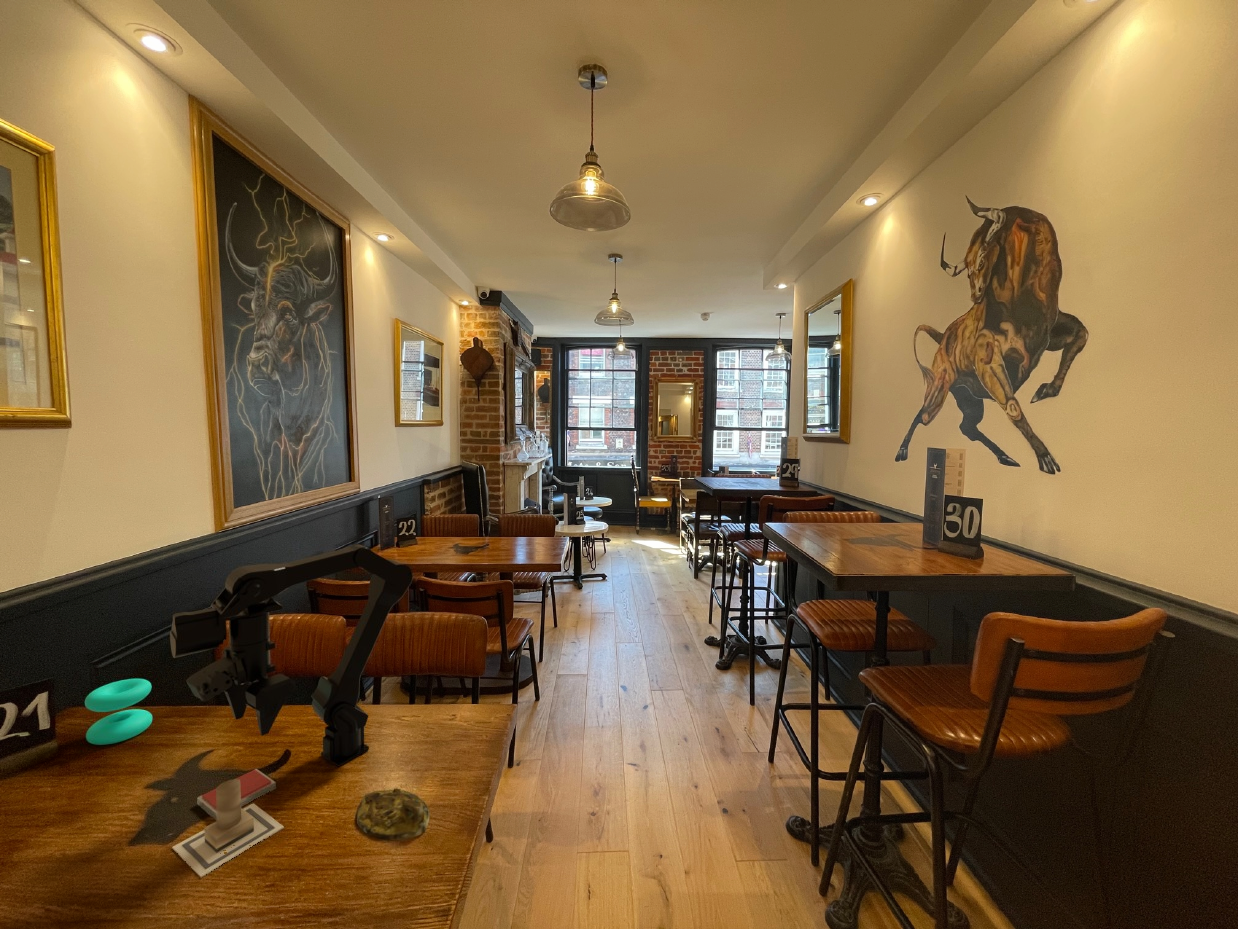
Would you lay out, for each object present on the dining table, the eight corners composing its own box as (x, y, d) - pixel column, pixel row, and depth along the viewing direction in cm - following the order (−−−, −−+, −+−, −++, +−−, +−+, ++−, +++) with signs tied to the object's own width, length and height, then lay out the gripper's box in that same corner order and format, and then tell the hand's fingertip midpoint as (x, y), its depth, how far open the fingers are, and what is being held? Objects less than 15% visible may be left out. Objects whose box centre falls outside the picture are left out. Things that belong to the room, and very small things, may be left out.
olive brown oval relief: (338, 826, 84) (403, 858, 78) (335, 801, 84) (400, 831, 77) (385, 786, 93) (447, 812, 86) (382, 763, 92) (445, 787, 86)
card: (253, 804, 87) (253, 802, 87) (283, 828, 82) (283, 826, 82) (172, 848, 78) (172, 846, 78) (201, 878, 73) (201, 876, 73)
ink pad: (256, 775, 95) (256, 767, 95) (275, 788, 91) (275, 780, 91) (197, 804, 87) (197, 796, 87) (216, 820, 83) (215, 811, 83)
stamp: (241, 821, 83) (240, 772, 83) (253, 831, 81) (252, 781, 81) (204, 842, 79) (203, 790, 78) (216, 853, 77) (215, 800, 76)
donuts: (75, 691, 104) (139, 672, 113) (77, 739, 105) (140, 716, 114) (96, 704, 100) (160, 683, 109) (97, 753, 100) (161, 728, 109)
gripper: (169, 643, 87) (172, 732, 87) (219, 670, 77) (222, 769, 78) (244, 623, 96) (245, 703, 97) (297, 645, 87) (298, 734, 87)
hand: (251, 726), depth 90 cm, fingers open, 9 cm apart
